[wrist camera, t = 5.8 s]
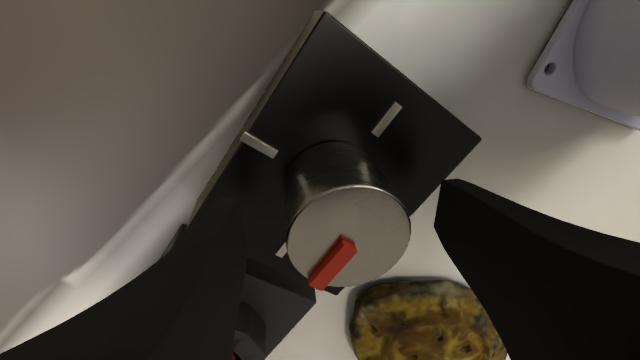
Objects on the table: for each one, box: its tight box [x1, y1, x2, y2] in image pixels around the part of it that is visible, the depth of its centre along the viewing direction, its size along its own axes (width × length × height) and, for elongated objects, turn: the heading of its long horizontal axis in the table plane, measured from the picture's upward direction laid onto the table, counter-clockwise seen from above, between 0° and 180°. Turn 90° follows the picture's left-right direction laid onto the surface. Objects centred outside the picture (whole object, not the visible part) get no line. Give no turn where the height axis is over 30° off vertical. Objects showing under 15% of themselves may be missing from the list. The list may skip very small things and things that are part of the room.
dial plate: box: [186, 10, 481, 295], centre depth 14 cm, size 10×8×3 cm
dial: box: [283, 142, 411, 291], centre depth 12 cm, size 4×4×4 cm
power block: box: [160, 224, 316, 360], centre depth 18 cm, size 10×8×4 cm
